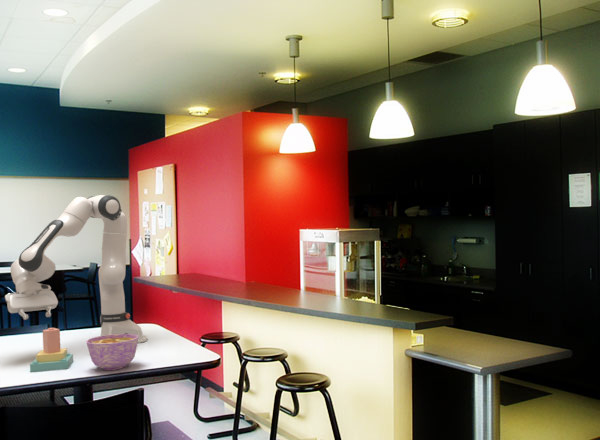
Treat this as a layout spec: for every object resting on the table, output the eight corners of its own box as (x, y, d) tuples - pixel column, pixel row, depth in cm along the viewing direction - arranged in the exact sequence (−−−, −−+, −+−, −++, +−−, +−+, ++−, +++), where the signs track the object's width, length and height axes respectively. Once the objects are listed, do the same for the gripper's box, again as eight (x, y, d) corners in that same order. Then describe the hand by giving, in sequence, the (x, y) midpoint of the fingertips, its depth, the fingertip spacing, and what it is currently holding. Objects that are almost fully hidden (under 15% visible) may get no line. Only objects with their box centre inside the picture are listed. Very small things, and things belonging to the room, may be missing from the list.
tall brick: (55, 349, 248) (54, 326, 248) (60, 351, 244) (59, 327, 244) (43, 351, 244) (42, 328, 244) (48, 353, 241) (47, 329, 241)
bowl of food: (100, 361, 249) (99, 334, 249) (146, 361, 247) (145, 333, 247) (77, 374, 229) (76, 344, 229) (128, 373, 227) (127, 343, 227)
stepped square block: (73, 361, 253) (72, 346, 253) (67, 368, 239) (67, 353, 239) (37, 364, 250) (37, 349, 250) (30, 372, 236) (29, 356, 236)
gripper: (5, 289, 251) (14, 315, 244) (53, 285, 266) (63, 310, 259) (1, 298, 254) (10, 325, 248) (49, 294, 269) (58, 319, 262)
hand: (37, 317), depth 253 cm, fingers open, 8 cm apart
